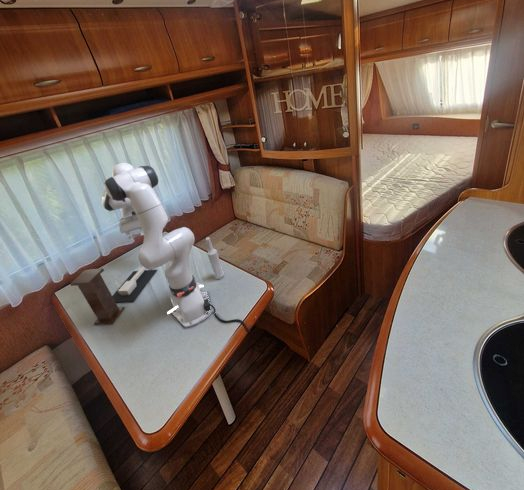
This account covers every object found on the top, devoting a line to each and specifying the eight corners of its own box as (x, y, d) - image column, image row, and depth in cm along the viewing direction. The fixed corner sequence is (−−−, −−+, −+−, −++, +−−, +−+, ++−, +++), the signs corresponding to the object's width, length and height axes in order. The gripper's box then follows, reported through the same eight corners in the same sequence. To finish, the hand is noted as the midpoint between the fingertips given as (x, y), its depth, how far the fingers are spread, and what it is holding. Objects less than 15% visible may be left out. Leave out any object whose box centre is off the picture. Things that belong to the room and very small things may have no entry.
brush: (129, 295, 148) (127, 290, 147) (120, 295, 149) (117, 291, 148) (150, 269, 167) (148, 265, 166) (142, 270, 169) (140, 265, 167)
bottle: (222, 279, 146) (210, 241, 136) (213, 279, 148) (201, 241, 137) (225, 273, 151) (214, 235, 141) (217, 273, 152) (205, 236, 142)
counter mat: (133, 302, 143) (132, 301, 143) (107, 303, 147) (106, 302, 146) (156, 270, 167) (156, 269, 166) (134, 272, 170) (133, 271, 169)
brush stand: (112, 324, 131) (88, 282, 121) (94, 324, 133) (69, 283, 123) (124, 308, 140) (103, 268, 130) (107, 308, 142) (85, 269, 132)
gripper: (114, 219, 162) (119, 241, 161) (139, 210, 154) (144, 234, 153) (123, 218, 168) (128, 239, 167) (147, 210, 160) (152, 232, 159)
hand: (136, 237), depth 160 cm, fingers open, 8 cm apart
